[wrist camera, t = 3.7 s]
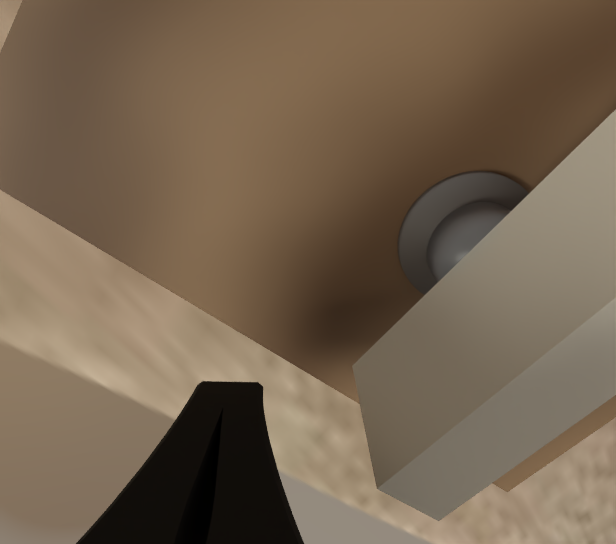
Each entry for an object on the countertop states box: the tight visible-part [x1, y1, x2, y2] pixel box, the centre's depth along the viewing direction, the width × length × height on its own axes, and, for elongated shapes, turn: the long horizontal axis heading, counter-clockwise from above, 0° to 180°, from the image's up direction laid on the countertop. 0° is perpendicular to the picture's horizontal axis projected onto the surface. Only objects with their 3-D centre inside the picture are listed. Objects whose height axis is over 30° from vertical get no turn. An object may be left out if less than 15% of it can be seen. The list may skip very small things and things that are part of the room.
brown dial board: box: [0, 0, 616, 492], centre depth 11 cm, size 20×16×2 cm
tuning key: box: [352, 110, 616, 521], centre depth 10 cm, size 9×8×5 cm
